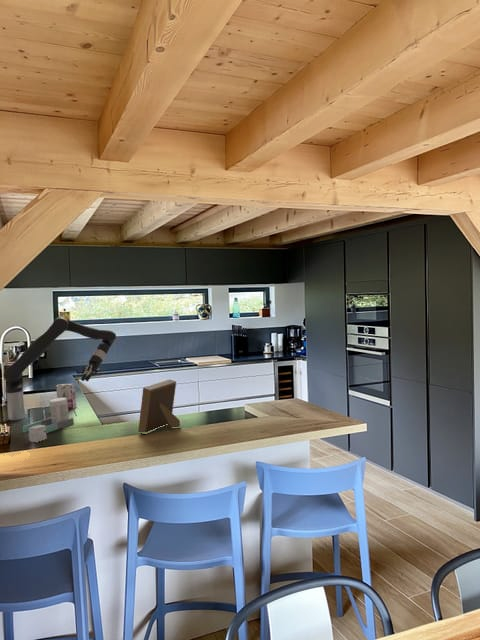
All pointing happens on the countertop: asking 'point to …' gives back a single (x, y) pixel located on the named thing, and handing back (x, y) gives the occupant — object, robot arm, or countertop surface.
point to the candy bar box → (67, 394)
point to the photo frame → (158, 406)
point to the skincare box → (37, 433)
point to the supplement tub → (59, 410)
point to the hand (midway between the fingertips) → (84, 380)
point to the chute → (49, 427)
